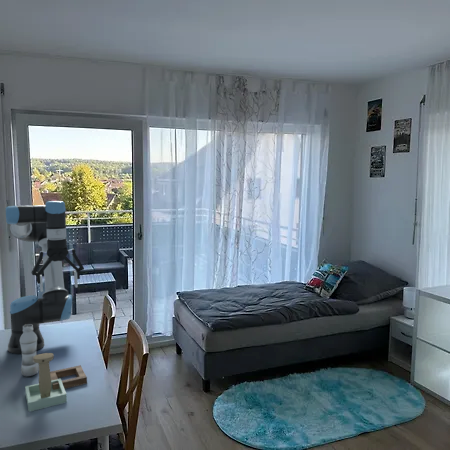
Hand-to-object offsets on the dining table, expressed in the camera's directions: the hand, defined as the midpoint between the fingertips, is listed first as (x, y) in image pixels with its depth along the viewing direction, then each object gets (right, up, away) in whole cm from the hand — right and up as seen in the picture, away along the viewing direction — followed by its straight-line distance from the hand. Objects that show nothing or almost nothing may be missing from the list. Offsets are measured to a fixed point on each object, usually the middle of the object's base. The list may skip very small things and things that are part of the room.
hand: (59, 289), depth 174 cm
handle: (+6, -34, -27) cm, 44 cm away
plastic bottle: (-8, -33, -8) cm, 35 cm away
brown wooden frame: (+9, -33, -14) cm, 37 cm away
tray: (+6, -35, -27) cm, 44 cm away
